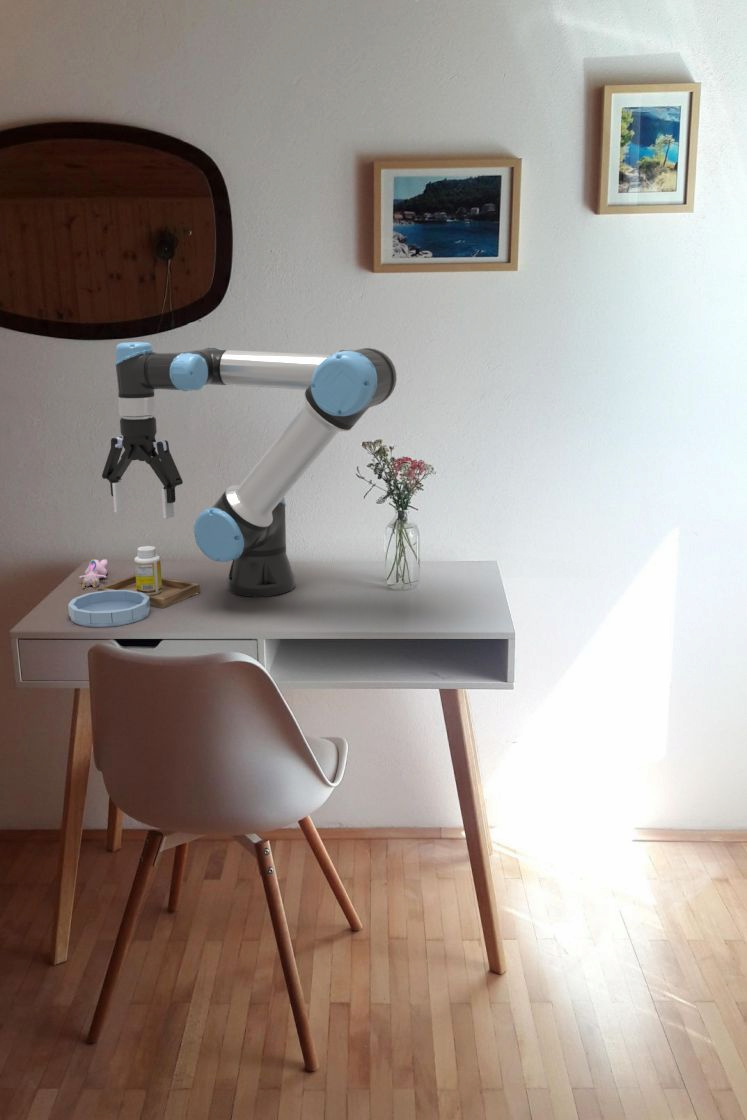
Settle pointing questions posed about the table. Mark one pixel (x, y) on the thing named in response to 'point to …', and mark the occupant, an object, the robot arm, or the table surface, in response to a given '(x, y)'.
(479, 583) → the table surface
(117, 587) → the tray
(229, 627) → the table surface
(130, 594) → the bowl
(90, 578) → the rabbit figure
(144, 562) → the supplement bottle
